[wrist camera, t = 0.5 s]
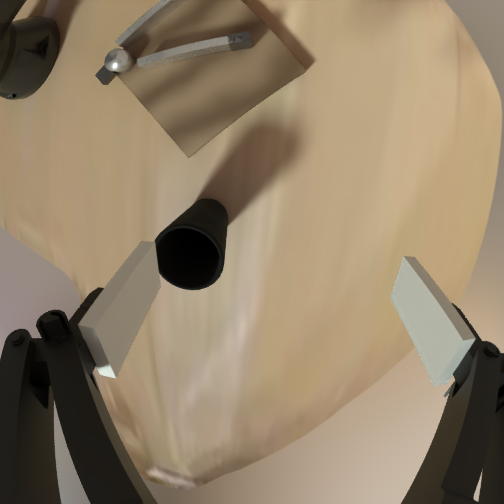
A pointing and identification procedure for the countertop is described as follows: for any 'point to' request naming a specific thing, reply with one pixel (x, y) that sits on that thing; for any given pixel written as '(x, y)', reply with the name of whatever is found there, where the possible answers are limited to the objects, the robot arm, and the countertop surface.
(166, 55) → the tong arm
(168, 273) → the cup
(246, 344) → the countertop surface
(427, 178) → the countertop surface
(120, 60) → the tongs fixed
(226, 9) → the board
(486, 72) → the countertop surface
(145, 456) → the countertop surface
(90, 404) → the robot arm
